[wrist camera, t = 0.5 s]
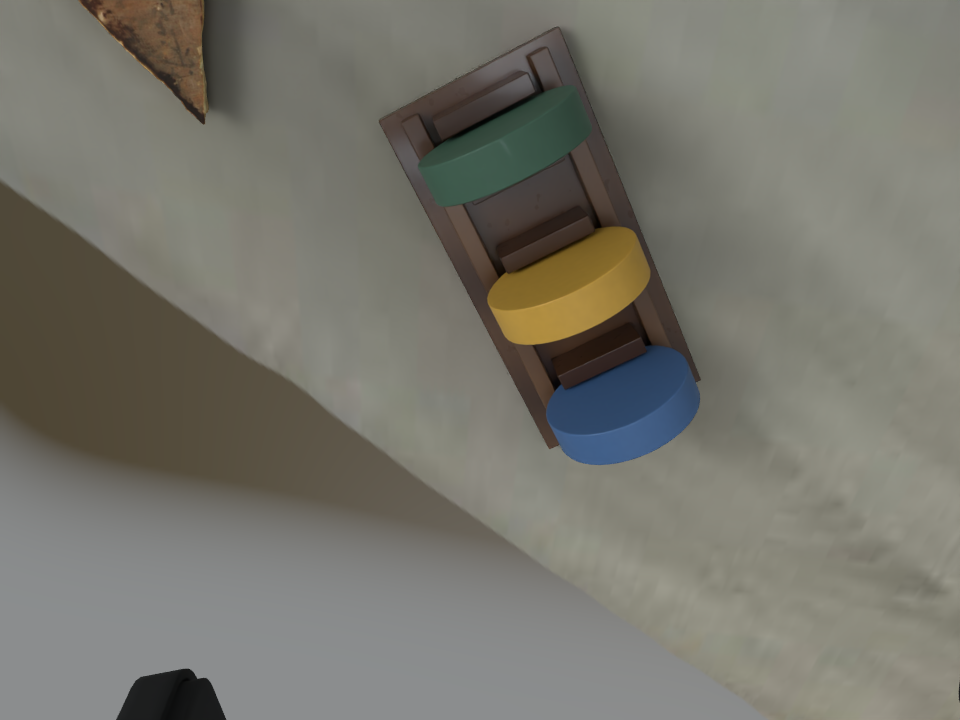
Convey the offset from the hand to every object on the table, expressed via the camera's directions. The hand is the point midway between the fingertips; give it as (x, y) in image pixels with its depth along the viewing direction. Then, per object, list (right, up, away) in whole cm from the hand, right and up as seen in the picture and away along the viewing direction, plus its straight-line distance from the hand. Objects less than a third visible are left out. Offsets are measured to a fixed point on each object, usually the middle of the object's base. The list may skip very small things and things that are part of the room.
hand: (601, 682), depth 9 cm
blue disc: (+6, +3, +35) cm, 36 cm away
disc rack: (+3, +10, +33) cm, 35 cm away
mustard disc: (+3, +9, +32) cm, 34 cm away
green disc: (-1, +15, +29) cm, 33 cm away
